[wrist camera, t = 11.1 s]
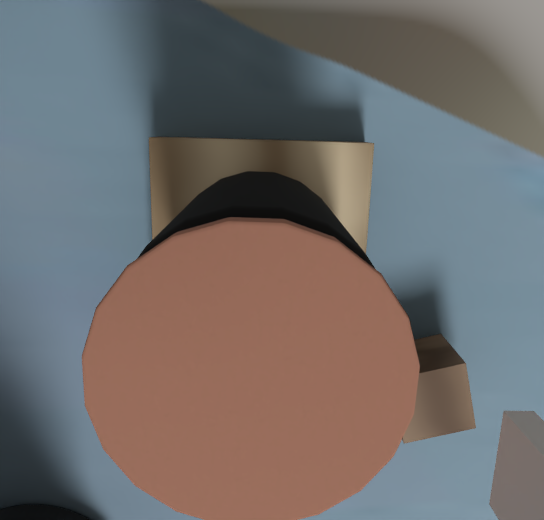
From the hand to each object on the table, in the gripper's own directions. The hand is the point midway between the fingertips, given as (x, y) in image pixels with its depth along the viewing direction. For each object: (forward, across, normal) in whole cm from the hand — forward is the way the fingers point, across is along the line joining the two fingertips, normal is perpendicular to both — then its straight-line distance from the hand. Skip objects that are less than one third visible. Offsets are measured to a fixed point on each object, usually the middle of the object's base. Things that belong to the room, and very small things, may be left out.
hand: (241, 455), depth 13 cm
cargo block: (+24, +12, -10) cm, 29 cm away
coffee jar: (+22, 0, 0) cm, 22 cm away
